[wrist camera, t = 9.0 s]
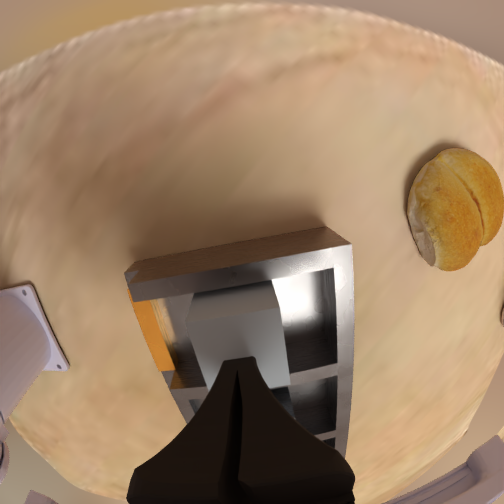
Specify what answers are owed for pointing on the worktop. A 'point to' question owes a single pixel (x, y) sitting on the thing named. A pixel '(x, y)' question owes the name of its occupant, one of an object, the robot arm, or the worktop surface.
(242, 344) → the grey block
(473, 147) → the worktop surface
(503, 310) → the supplement bottle
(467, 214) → the bread roll
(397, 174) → the worktop surface
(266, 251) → the rack
